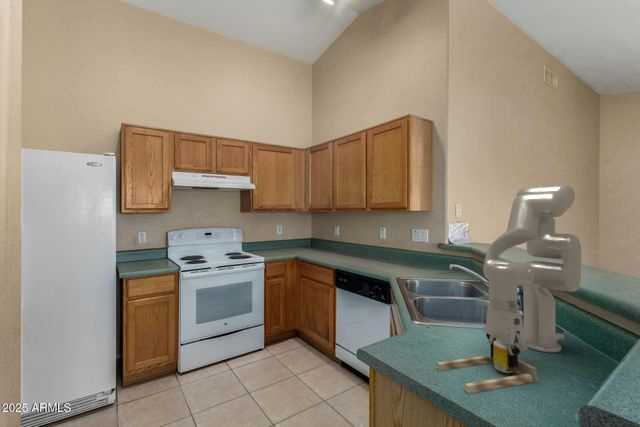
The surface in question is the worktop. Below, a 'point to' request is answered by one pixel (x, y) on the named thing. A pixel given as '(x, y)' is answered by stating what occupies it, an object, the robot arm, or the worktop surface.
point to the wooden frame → (524, 376)
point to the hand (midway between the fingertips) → (503, 361)
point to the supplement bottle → (501, 356)
